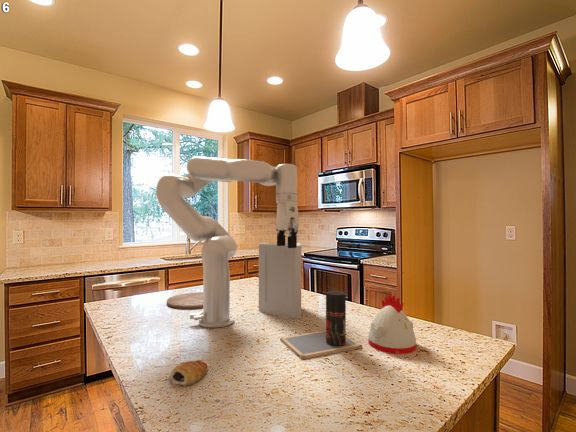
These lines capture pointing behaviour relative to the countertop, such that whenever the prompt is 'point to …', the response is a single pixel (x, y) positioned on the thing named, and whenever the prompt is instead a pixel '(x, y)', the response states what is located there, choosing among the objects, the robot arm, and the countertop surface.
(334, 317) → the deodorant
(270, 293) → the tall white carton
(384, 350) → the kitchen timer
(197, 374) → the pastry
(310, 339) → the slate board
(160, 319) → the countertop surface
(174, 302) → the trivet
